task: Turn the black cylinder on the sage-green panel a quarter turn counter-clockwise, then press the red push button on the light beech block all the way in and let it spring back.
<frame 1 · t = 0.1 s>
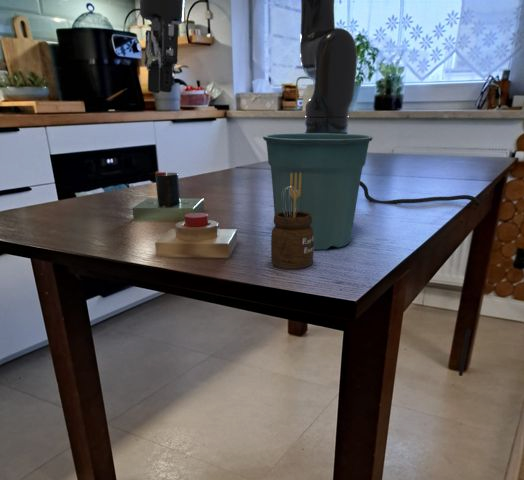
hand: (159, 92, 96), 22 cm above the table, tool pointing down, fingers open, 8 cm apart
black cylinder: (167, 187, 102), point 5 cm above the table, hinge at 0.0°
flower pot: (313, 242, 85), on the table
utensil holder: (292, 265, 73), on the table
start button: (196, 220, 79), point 4 cm above the table, slide at 0.1 cm
button block: (198, 249, 81), on the table
dial panel: (170, 215, 104), on the table
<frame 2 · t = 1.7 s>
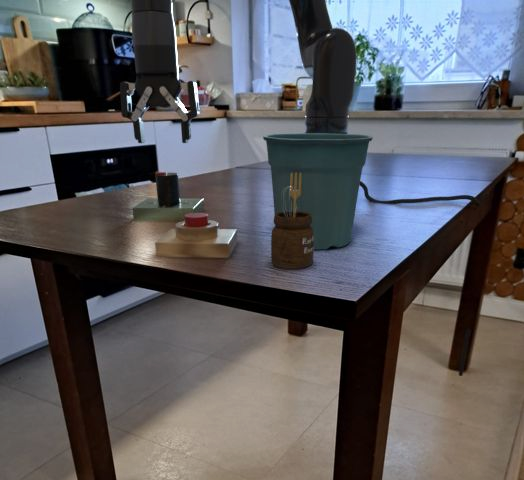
hand: (163, 142, 98), 14 cm above the table, tool pointing down, fingers open, 8 cm apart
nothing on the table moved.
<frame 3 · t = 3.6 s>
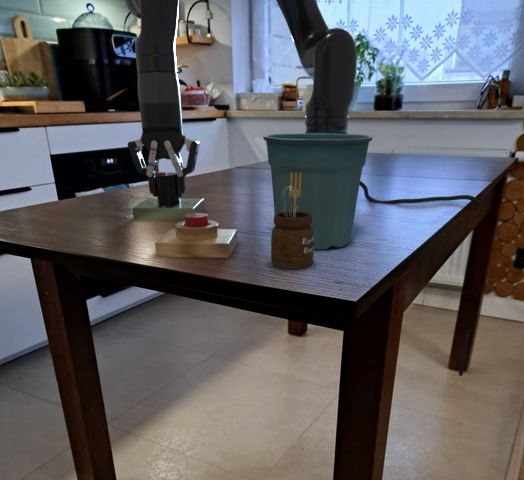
hand: (168, 195, 103), 4 cm above the table, tool pointing down, fingers closed on black cylinder, 4 cm apart
black cylinder: (167, 187, 102), point 5 cm above the table, hinge at 0.2°, touching gripper
everything else where it was.
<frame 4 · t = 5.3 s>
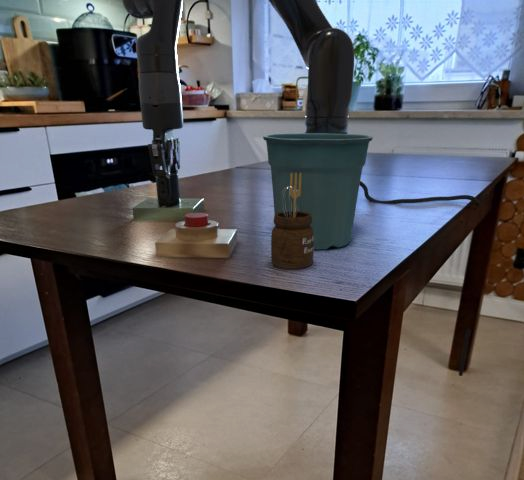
hand: (169, 195, 103), 4 cm above the table, tool pointing down, fingers closed on black cylinder, 4 cm apart
black cylinder: (167, 187, 102), point 5 cm above the table, hinge at 92.6°, touching gripper
everything else where it was.
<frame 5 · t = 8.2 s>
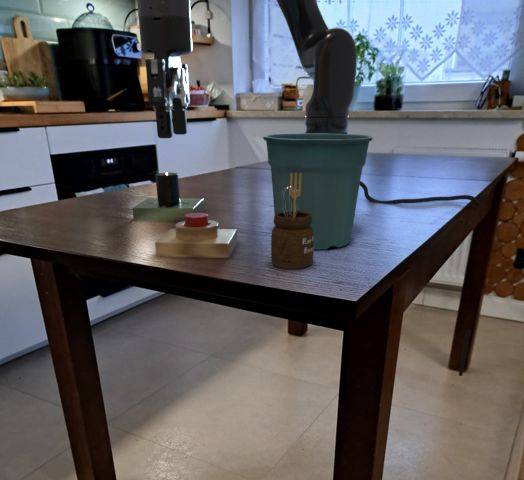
hand: (173, 136, 82), 16 cm above the table, tool pointing down, fingers open, 8 cm apart
black cylinder: (167, 187, 102), point 5 cm above the table, hinge at 92.3°
everything else where it was.
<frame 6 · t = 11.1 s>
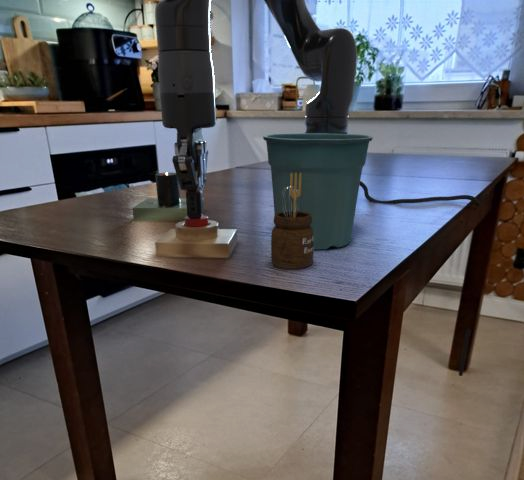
hand: (195, 217, 79), 5 cm above the table, tool pointing down, fingers closed
start button: (196, 222, 79), point 4 cm above the table, slide at -0.2 cm, touching gripper
everything else where it was.
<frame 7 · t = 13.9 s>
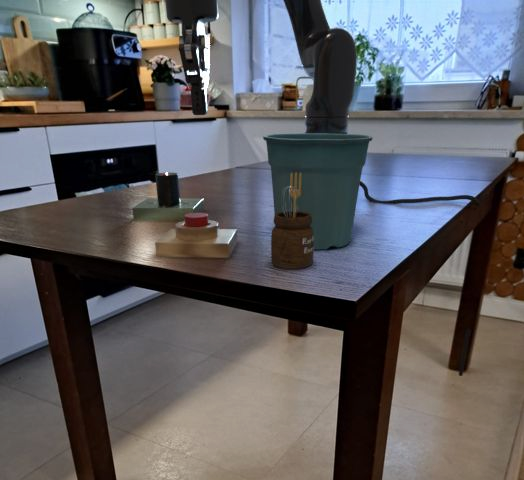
hand: (200, 114, 82), 19 cm above the table, tool pointing down, fingers closed
start button: (196, 220, 79), point 4 cm above the table, slide at 0.1 cm
everything else where it was.
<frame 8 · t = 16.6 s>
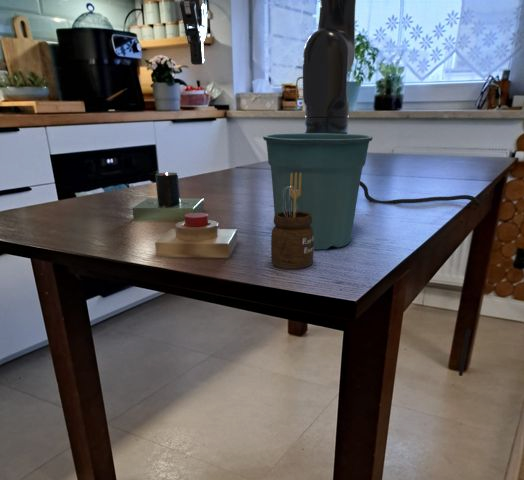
hand: (197, 64, 98), 27 cm above the table, tool pointing down, fingers closed
nothing on the table moved.
at the end: black cylinder at +92° (first picture: +0°); start button pushed in 1.1 cm at the most during the clip, back to where it started at the end; start button slide at 0.1 cm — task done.
